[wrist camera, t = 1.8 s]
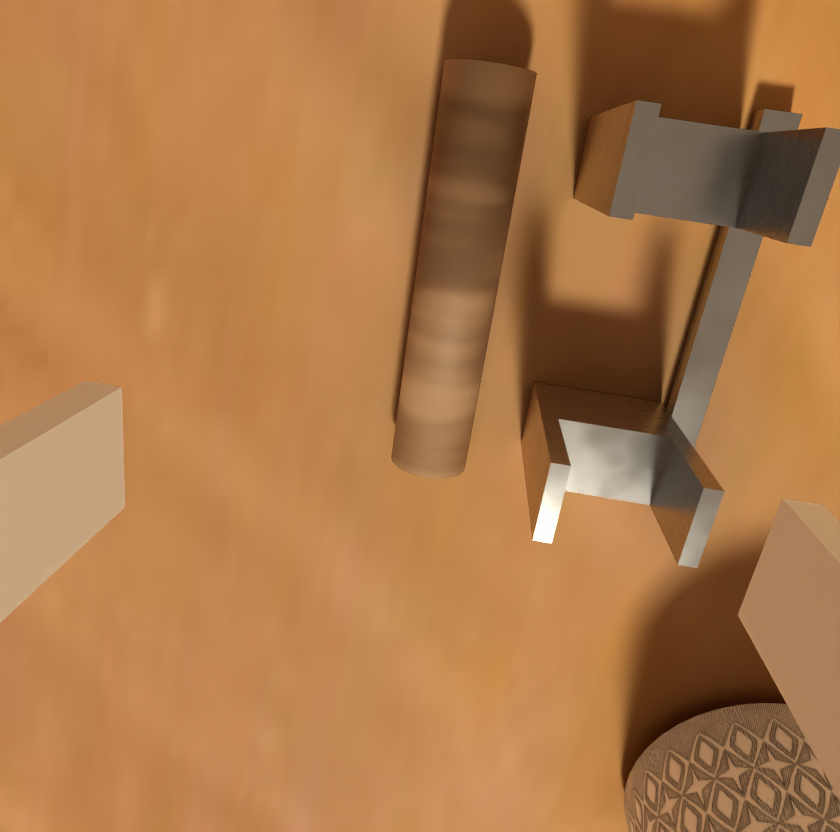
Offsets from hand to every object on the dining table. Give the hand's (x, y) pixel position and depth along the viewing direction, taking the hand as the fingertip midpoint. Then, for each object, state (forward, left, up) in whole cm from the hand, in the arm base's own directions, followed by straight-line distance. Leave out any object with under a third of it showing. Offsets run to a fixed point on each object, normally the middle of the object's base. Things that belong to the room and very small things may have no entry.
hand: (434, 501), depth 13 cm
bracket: (0, +8, -22) cm, 24 cm away
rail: (0, 0, -23) cm, 23 cm away
